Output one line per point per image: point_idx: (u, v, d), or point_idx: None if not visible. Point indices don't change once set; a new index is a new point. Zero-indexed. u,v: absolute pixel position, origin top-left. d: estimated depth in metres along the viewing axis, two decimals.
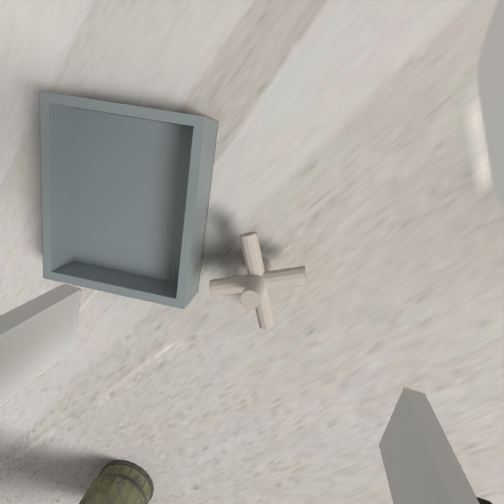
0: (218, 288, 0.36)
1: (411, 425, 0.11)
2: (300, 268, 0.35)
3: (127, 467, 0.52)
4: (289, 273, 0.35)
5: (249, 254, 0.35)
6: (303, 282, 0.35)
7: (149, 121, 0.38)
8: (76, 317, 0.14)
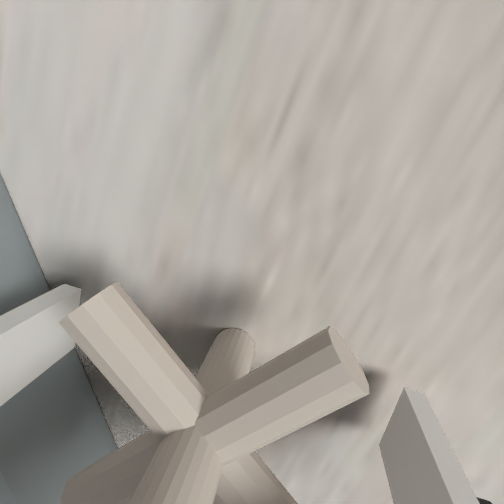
0: None
1: (412, 425, 0.11)
2: (315, 348, 0.08)
3: None
4: (283, 384, 0.08)
5: (112, 373, 0.09)
6: (352, 398, 0.08)
7: None
8: None
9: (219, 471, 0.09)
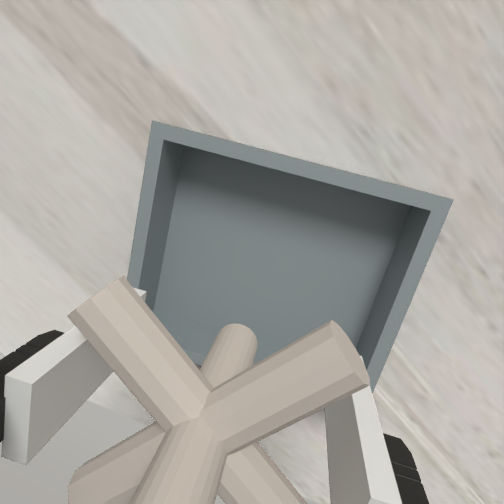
0: (92, 501, 0.11)
1: None
2: (318, 341, 0.09)
3: None
4: (285, 376, 0.09)
5: (119, 365, 0.09)
6: (353, 390, 0.08)
7: (171, 220, 0.29)
8: None
9: (223, 460, 0.09)
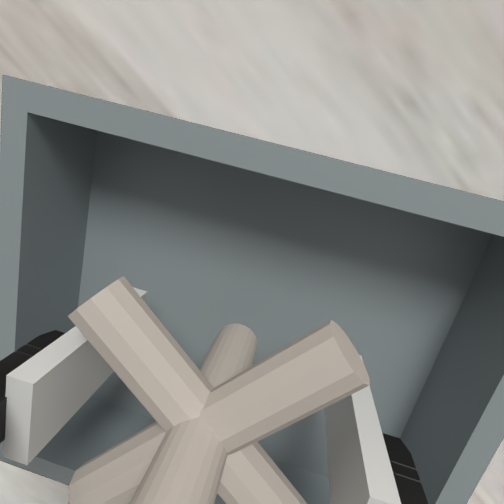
0: (93, 501, 0.11)
1: None
2: (317, 341, 0.09)
3: None
4: (285, 376, 0.09)
5: (119, 365, 0.09)
6: (352, 390, 0.08)
7: (86, 253, 0.18)
8: None
9: (223, 460, 0.09)
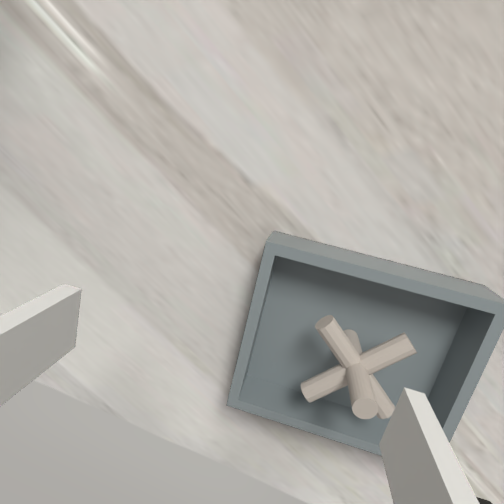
0: (314, 393, 0.30)
1: (411, 424, 0.11)
2: (401, 339, 0.28)
3: None
4: (391, 349, 0.28)
5: (335, 345, 0.29)
6: (412, 354, 0.28)
7: (266, 303, 0.35)
8: (76, 317, 0.14)
9: None
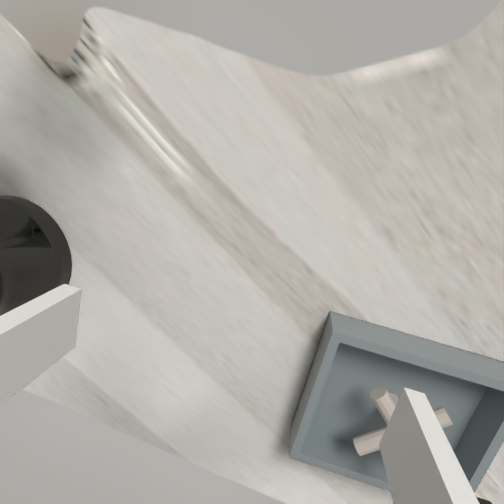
0: (365, 449, 0.37)
1: (412, 424, 0.11)
2: (441, 412, 0.35)
3: None
4: None
5: (387, 413, 0.35)
6: (449, 425, 0.35)
7: None
8: (76, 317, 0.14)
9: None
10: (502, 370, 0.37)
